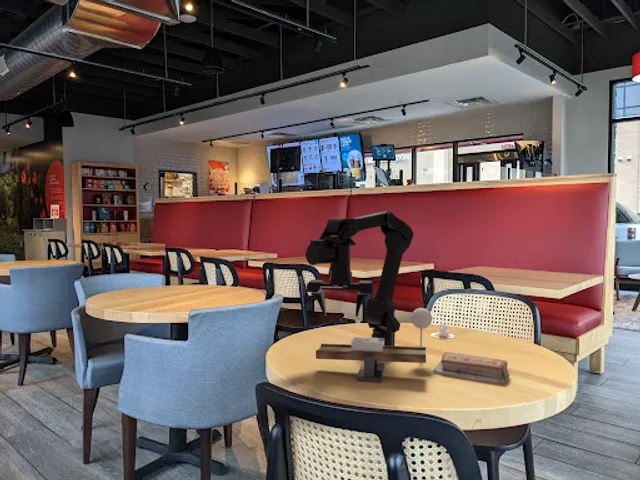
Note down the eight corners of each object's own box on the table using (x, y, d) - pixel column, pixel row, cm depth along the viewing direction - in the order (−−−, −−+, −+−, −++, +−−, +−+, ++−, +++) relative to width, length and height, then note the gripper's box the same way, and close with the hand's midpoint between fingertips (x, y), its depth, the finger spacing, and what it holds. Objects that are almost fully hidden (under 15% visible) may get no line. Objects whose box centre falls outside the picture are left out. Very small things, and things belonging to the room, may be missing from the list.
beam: (425, 355, 132) (425, 346, 132) (426, 364, 124) (425, 354, 124) (321, 351, 137) (321, 343, 137) (315, 360, 130) (315, 350, 129)
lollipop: (432, 358, 146) (433, 307, 145) (430, 363, 140) (431, 310, 139) (411, 355, 148) (412, 305, 147) (408, 361, 142) (409, 309, 141)
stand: (384, 366, 137) (384, 345, 136) (380, 382, 124) (380, 358, 124) (362, 365, 138) (362, 343, 138) (356, 380, 125) (356, 357, 125)
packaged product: (510, 357, 132) (504, 367, 123) (509, 375, 132) (503, 386, 124) (442, 347, 141) (432, 356, 132) (441, 364, 141) (432, 374, 132)
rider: (384, 349, 132) (384, 338, 132) (382, 354, 127) (382, 342, 127) (354, 348, 134) (354, 337, 134) (351, 353, 129) (351, 341, 129)
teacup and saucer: (440, 332, 179) (441, 321, 179) (460, 337, 173) (460, 325, 173) (426, 336, 173) (426, 324, 173) (445, 341, 167) (446, 329, 167)
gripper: (375, 259, 148) (375, 311, 149) (313, 258, 151) (314, 309, 152) (372, 263, 137) (372, 319, 138) (305, 263, 140) (306, 317, 141)
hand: (340, 316), depth 143 cm, fingers open, 9 cm apart
